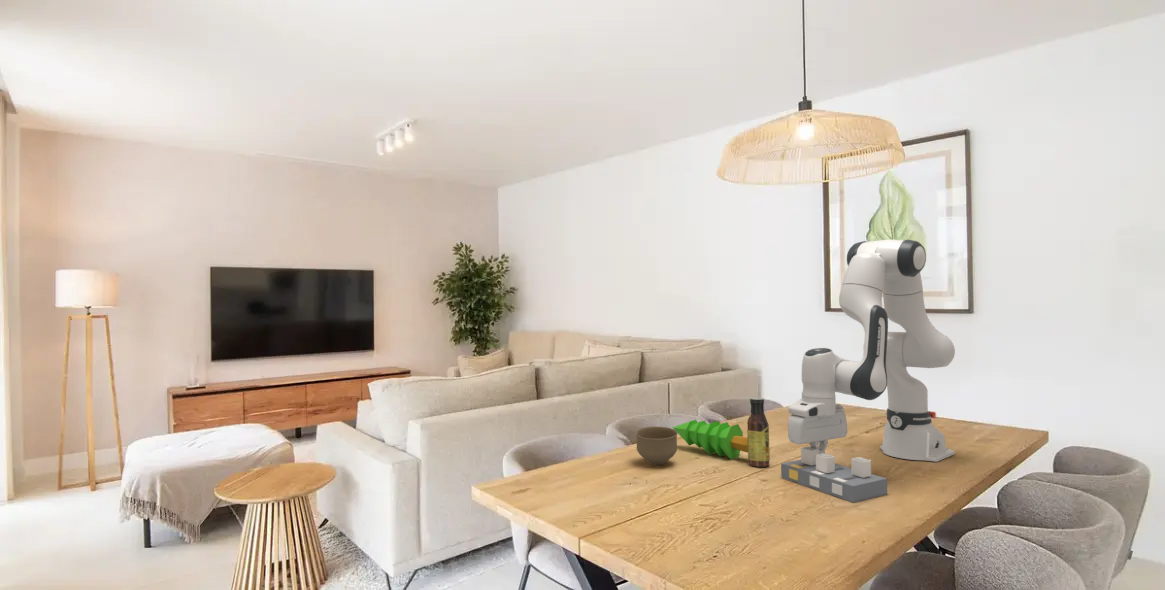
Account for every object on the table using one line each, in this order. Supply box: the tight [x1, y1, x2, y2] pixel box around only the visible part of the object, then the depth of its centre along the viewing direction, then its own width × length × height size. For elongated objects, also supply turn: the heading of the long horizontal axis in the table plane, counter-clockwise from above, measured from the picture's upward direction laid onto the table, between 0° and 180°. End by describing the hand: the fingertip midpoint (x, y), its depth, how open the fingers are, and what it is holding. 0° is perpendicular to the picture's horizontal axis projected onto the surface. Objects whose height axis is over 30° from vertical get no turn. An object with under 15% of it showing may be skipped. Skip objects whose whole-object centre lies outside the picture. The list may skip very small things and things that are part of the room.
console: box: [780, 459, 888, 504], centre depth 158 cm, size 13×23×4 cm, turn 28°
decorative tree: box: [672, 419, 748, 460], centre depth 191 cm, size 11×12×30 cm
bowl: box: [635, 426, 679, 466], centre depth 179 cm, size 13×13×10 cm
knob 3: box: [850, 456, 872, 478], centre depth 153 cm, size 3×4×4 cm
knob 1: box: [800, 445, 819, 466], centre depth 164 cm, size 3×4×4 cm
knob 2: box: [816, 453, 836, 473], centre depth 157 cm, size 3×4×4 cm
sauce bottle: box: [746, 397, 771, 468], centre depth 178 cm, size 7×6×20 cm
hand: (818, 456), depth 166 cm, fingers closed
